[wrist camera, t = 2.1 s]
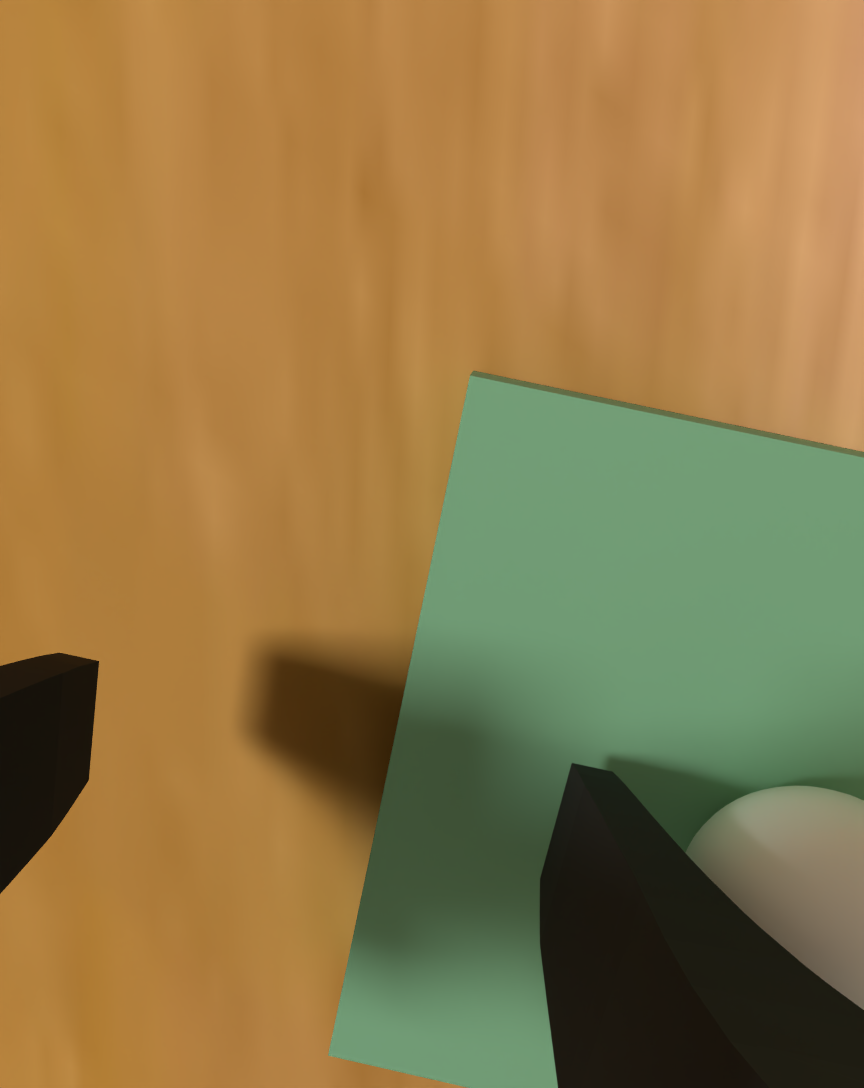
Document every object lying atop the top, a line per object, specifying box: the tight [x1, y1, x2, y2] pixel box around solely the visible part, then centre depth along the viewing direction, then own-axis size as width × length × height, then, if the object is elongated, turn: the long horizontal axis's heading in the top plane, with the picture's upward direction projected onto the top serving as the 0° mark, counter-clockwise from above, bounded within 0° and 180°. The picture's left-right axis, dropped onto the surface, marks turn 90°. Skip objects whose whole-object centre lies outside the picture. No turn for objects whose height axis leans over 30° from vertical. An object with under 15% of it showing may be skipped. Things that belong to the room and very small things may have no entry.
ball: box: [685, 786, 864, 1010], centre depth 10 cm, size 4×4×4 cm
